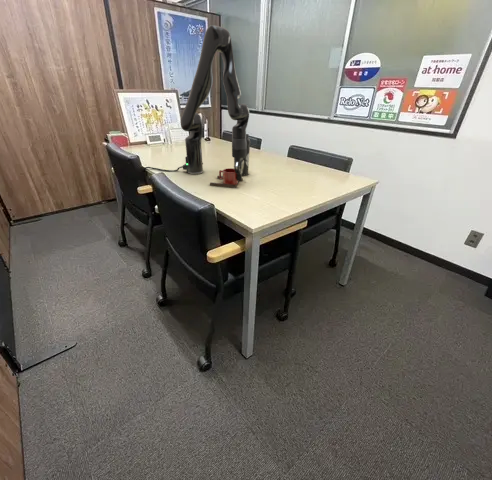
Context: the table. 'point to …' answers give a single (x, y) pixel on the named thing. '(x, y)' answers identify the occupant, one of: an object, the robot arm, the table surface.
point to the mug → (228, 176)
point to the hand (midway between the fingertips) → (239, 180)
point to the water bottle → (246, 159)
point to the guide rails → (223, 184)
